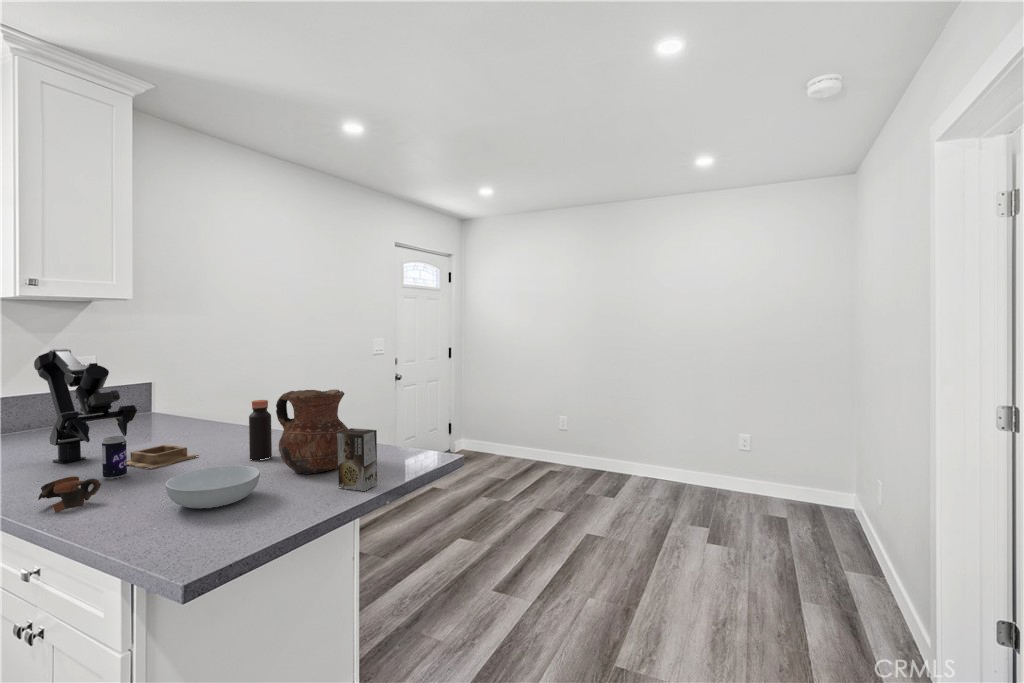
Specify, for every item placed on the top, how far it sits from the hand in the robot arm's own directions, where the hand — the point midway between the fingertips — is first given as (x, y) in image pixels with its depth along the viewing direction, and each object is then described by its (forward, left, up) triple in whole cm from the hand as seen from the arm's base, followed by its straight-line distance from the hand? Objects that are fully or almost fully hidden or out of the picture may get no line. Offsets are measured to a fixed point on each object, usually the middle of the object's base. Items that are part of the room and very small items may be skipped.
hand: (107, 438), depth 148 cm
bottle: (+28, +30, -11) cm, 43 cm away
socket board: (-2, +16, -11) cm, 20 cm away
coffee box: (+79, +18, -11) cm, 81 cm away
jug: (+55, +28, -11) cm, 62 cm away
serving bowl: (+52, -5, -12) cm, 53 cm away
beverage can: (+4, -1, -11) cm, 12 cm away
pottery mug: (+19, -19, -12) cm, 29 cm away
